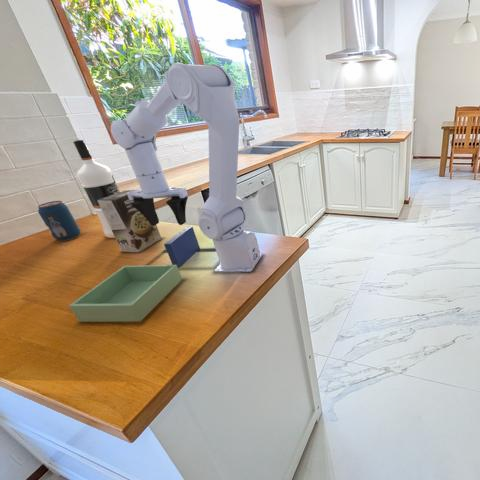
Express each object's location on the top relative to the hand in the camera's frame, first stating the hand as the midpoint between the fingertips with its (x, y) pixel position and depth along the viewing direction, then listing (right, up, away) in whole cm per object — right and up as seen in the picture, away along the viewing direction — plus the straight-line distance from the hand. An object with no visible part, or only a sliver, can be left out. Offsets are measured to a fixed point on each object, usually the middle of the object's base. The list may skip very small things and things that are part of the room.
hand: (169, 223), depth 76 cm
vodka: (-29, -2, +21) cm, 35 cm away
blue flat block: (+4, -9, +2) cm, 10 cm away
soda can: (-47, -3, +21) cm, 51 cm away
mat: (+4, -9, +2) cm, 10 cm away
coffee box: (-15, -6, +12) cm, 20 cm away
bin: (+1, -17, -13) cm, 22 cm away
